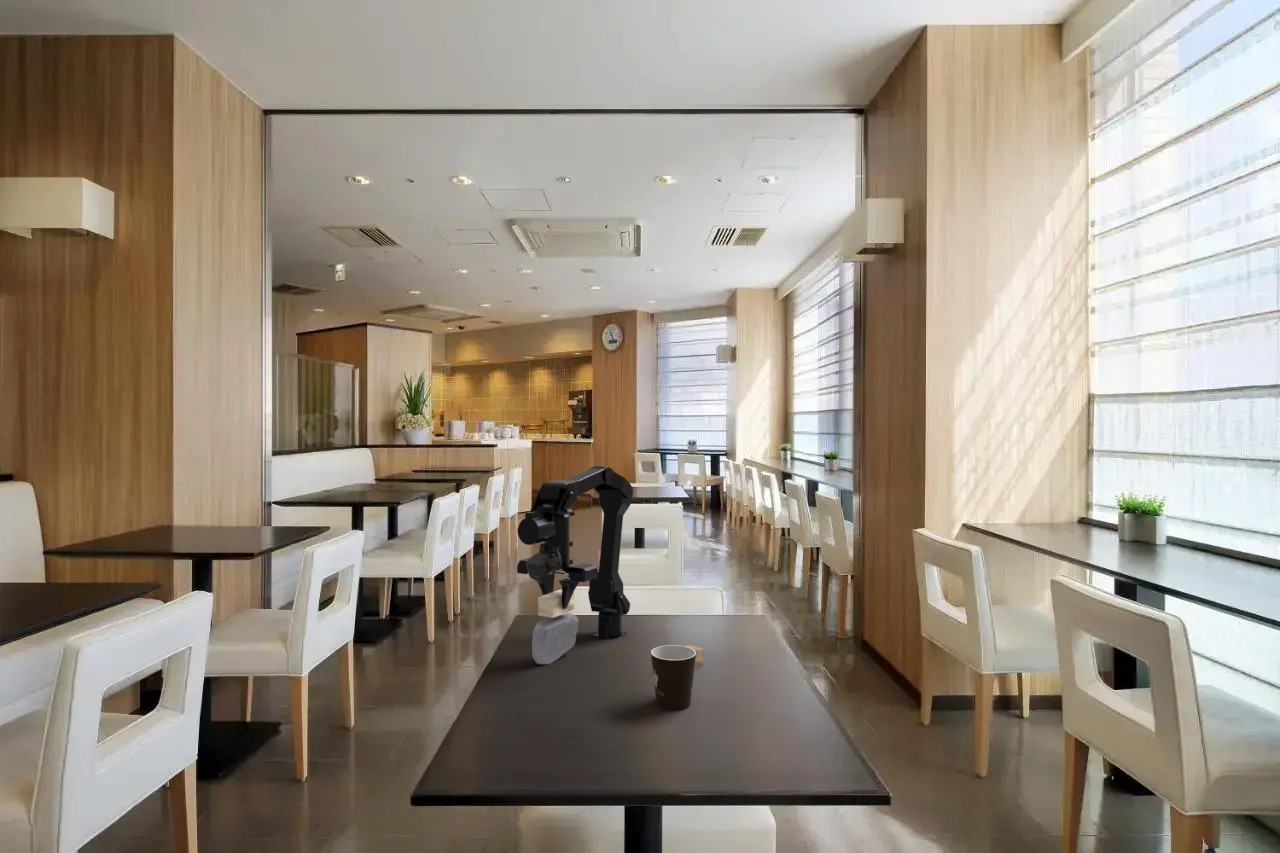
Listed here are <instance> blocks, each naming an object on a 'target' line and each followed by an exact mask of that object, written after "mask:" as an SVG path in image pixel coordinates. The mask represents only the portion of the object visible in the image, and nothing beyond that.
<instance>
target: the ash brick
mask: <svg viewBox="0 0 1280 853" xmlns="http://www.w3.org/2000/svg"><path fill="white" fill-rule="evenodd" d="M573 610H575V591H574V592H573V595H572V597H571V599H570V602H569V604H568V606H567V608H566V609H563V608H562V589H558V590H555V591H554V590H553V592H551V593H549V594H546V595H543V594H542V595H541V596H538V597H537V612H538V613H537V616H539V617H545V618H554V617H558V616H560V615H562V614H564V613H566V612H568V613H569V612H571V611H573Z"/></svg>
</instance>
